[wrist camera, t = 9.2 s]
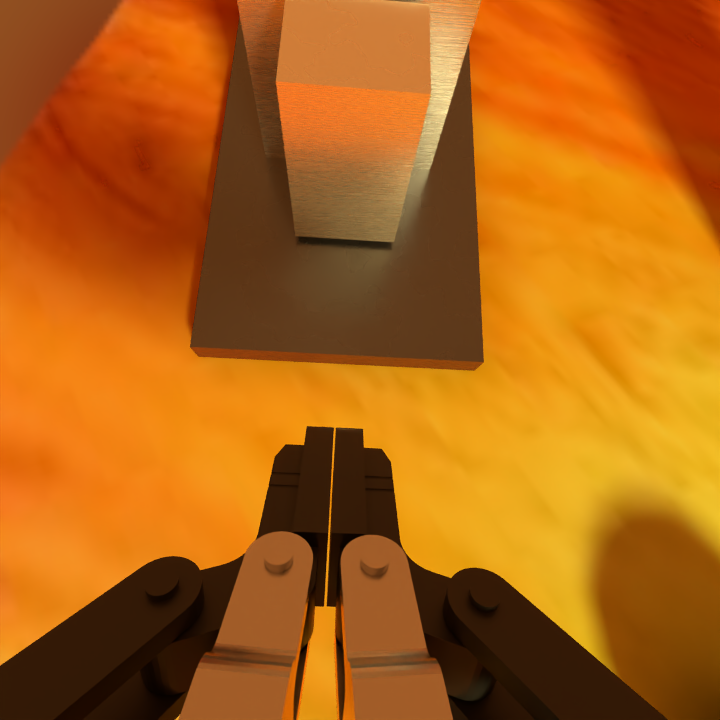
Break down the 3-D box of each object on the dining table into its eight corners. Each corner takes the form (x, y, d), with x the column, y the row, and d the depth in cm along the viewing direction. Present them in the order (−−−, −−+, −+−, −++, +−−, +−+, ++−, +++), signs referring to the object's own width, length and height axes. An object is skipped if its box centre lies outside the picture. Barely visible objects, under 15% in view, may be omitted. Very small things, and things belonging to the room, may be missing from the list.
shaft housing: (459, 3, 32) (528, -263, 21) (474, 370, 24) (597, 258, 13) (251, -16, 31) (209, -302, 20) (198, 356, 23) (81, 225, 12)
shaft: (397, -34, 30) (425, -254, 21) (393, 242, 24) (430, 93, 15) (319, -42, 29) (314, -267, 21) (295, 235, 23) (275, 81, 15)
